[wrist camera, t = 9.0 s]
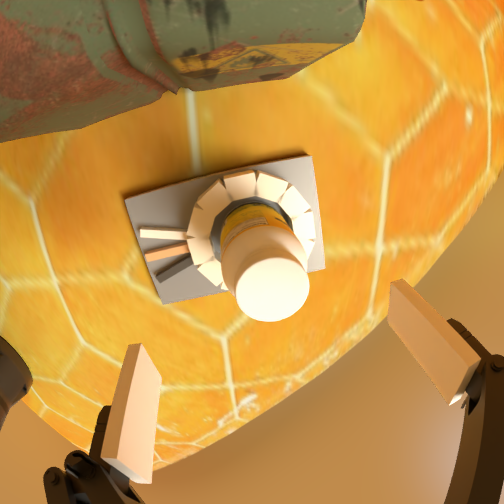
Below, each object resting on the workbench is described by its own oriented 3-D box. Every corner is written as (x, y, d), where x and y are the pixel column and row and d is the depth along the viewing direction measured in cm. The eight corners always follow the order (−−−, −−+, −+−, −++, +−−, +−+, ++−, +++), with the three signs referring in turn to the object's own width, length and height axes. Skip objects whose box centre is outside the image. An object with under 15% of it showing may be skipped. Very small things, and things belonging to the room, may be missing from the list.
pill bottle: (292, 245, 28) (330, 310, 18) (235, 268, 29) (245, 343, 19) (271, 189, 26) (306, 229, 16) (209, 214, 26) (205, 270, 16)
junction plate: (164, 298, 31) (160, 315, 28) (128, 197, 26) (117, 205, 23) (321, 263, 31) (331, 277, 28) (307, 154, 26) (318, 157, 23)
